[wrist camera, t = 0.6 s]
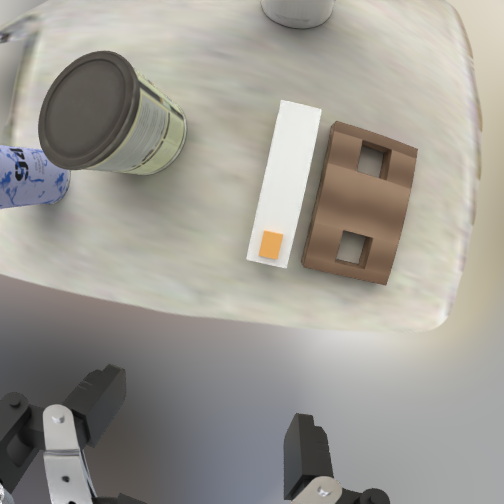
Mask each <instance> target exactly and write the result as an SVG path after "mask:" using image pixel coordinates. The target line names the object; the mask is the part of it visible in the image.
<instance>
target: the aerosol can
mask: <svg viewBox="0 0 504 504" xmlns="http://www.w3.org/2000/svg"><path fill="white" fill-rule="evenodd" d="M69 182H70V170H65V169H62V168H59V167H57V166H55V165H54V164H52V163H51V162H50V161H49V160H48V159H47V157H46V156H45V154H44V152H43V150H39V149H30V148H21V147H11V146H0V209H3V208H10V207H18V206H27V205H36V204H55V203H56V202H58V201H60V200H61V199H62V197H63V196H64V195H65V193H66V191H67V189H68V186H69Z"/></svg>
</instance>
